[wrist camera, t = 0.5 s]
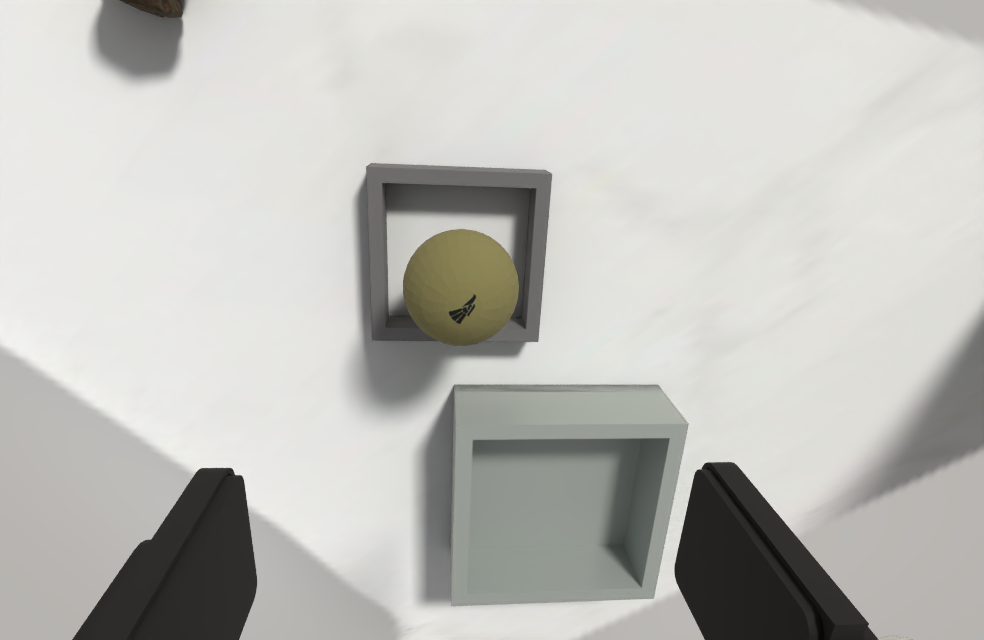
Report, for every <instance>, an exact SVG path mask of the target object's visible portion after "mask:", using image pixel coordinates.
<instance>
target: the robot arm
mask: <svg viewBox="0 0 984 640" xmlns="http://www.w3.org/2000/svg"><path fill="white" fill-rule="evenodd" d="M675 578H676V582H677V584H678V587H679V589H680V591H681V593H682V595H683V596H684V598H685V601H686V602H687V605H688V607H689V609H690V610H691V613H692V615H693V617H694V618H695V620H696V622H697V625H698V627H699V628H700V630H701V633H702V635H703V637H704V639H705V640H912V639H909V638H905V637H898V636H887V637H881V638H880V639H878V638H877V637H876V636H875V635H874V634H873V632H872V631H871V630H870V629H869V628H868V625H869V623H868V622H867V621H866V620H865V618H864V617H863V616H862V615H861V614H860V612H859V611H858V610H857V609H856V608H855V606H854V605H853V604H852V603H851V602H850V600H849V599H848V598H847V597H846V596H845V595H844V593H843V592H842V591H841V590H840V588H839V587H838V586H837V585H836V584H835V582H834V581H833V580H832V579H831V578H830V576H829V575H828V574H827V573H826V572H825V570H824V569H823V568H822V567H821V566H820V564H819V563H818V562H817V561H816V560H815V558H814V557H813V556H812V555H811V554H810V552H809V551H808V550H807V549H806V548H805V546H804V545H803V544H802V543H801V542H800V540H799V539H798V538H797V537H796V536H795V534H794V533H793V532H792V531H791V530H790V528H789V527H788V526H787V525H786V524H785V522H784V521H783V520H782V519H781V518H780V516H779V515H778V514H777V513H776V512H775V510H774V509H773V508H772V507H771V506H770V504H769V503H768V502H767V501H766V500H765V498H764V497H763V496H762V495H761V494H760V492H759V491H758V490H757V489H756V488H755V486H754V485H753V484H752V483H751V482H750V480H749V479H748V478H747V477H746V476H745V474H744V473H743V472H742V471H741V470H740V468H739V467H738V466H737V465H736V464H735V463H732V462H714V463H705V464H704V465H703V467H702V470H697V471H696V472H695V475H694V479H693V484H692V488H691V493H690V498H689V502H688V507H687V511H686V516H685V521H684V525H683V530H682V534H681V539H680V544H679V548H678V553H677V557H676V562H675ZM256 588H257V575H256V568H255V560H254V552H253V545H252V537H251V530H250V523H249V516H248V507H247V500H246V492H245V485H244V479H243V477H242V476H241V475H235V474H234V471H233V469H231V468H201V469H199V470H198V471H197V472H196V474H195V475H194V477H193V478H192V480H191V481H190V483H189V484H188V486H187V487H186V489H185V490H184V492H183V493H182V495H181V496H180V498H179V499H178V501H177V502H176V504H175V505H174V507H173V508H172V510H171V511H170V513H169V514H168V516H167V517H166V518H165V520H164V521H163V523H162V524H161V526H160V527H159V529H158V531H157V532H156V534H155V535H154V537H153V538H152V539H151V540H145V541H143V542H141V543H140V544H139V545H138V546H137V548H136V549H135V550H134V551H133V553H132V554H131V556H130V557H129V559H128V560H127V562H126V563H125V564H124V566H123V567H122V569H121V570H120V571H119V573H118V574H117V576H116V577H115V579H114V580H113V582H112V583H111V584H110V586H109V588H108V589H107V590H106V592H105V593H104V595H103V596H102V597H101V599H100V600H99V602H98V603H97V605H96V606H95V608H94V609H93V610H92V612H91V613H90V615H89V616H88V618H87V619H86V621H85V622H84V624H83V625H82V626H81V628H80V629H79V631H78V632H77V634H76V635H75V637H74V638H73V639H72V640H239V638H240V635H241V633H242V630H243V627H244V625H245V622H246V620H247V617H248V614H249V612H250V609H251V606H252V604H253V601H254V598H255V594H256Z"/></svg>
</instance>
